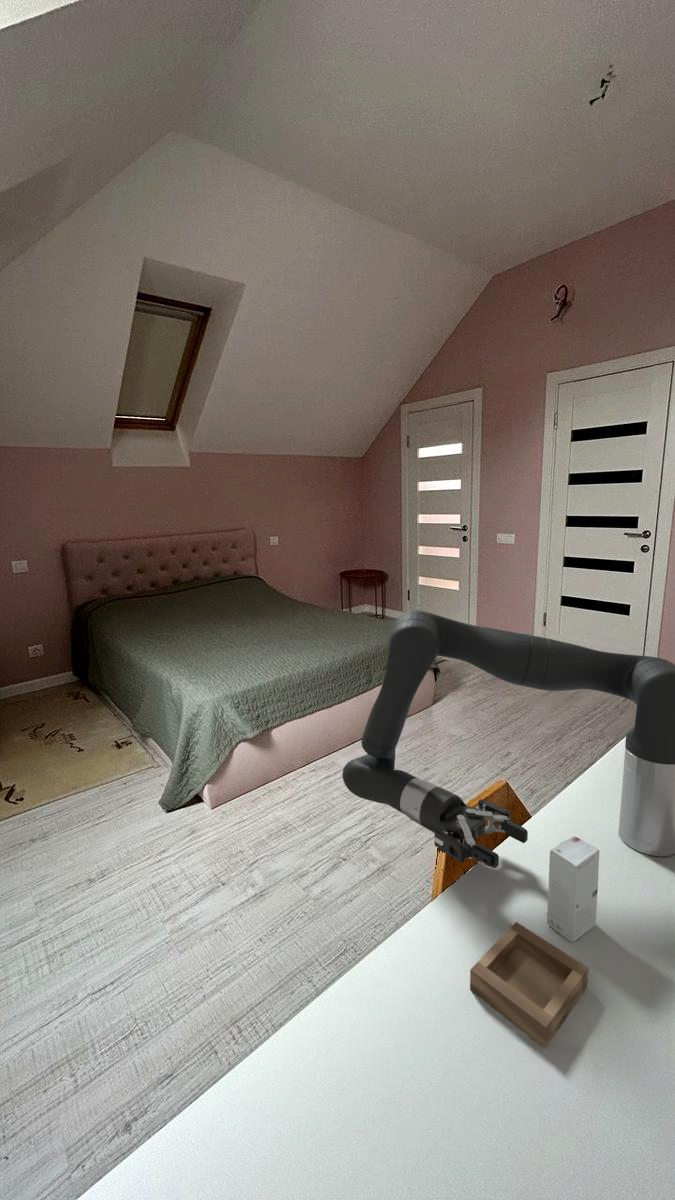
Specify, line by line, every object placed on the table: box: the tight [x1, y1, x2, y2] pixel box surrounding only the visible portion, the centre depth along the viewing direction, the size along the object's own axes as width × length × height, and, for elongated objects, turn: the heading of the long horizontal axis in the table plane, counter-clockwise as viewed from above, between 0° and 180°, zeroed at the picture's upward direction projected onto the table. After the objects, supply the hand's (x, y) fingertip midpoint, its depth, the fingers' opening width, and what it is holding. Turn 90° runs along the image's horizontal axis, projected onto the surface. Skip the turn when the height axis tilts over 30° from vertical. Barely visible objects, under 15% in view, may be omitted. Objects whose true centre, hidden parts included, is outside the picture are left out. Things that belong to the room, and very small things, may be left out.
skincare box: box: [546, 835, 600, 942], centre depth 74 cm, size 6×4×12 cm
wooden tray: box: [469, 921, 590, 1050], centre depth 65 cm, size 11×10×3 cm
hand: (512, 849), depth 81 cm, fingers open, 8 cm apart
